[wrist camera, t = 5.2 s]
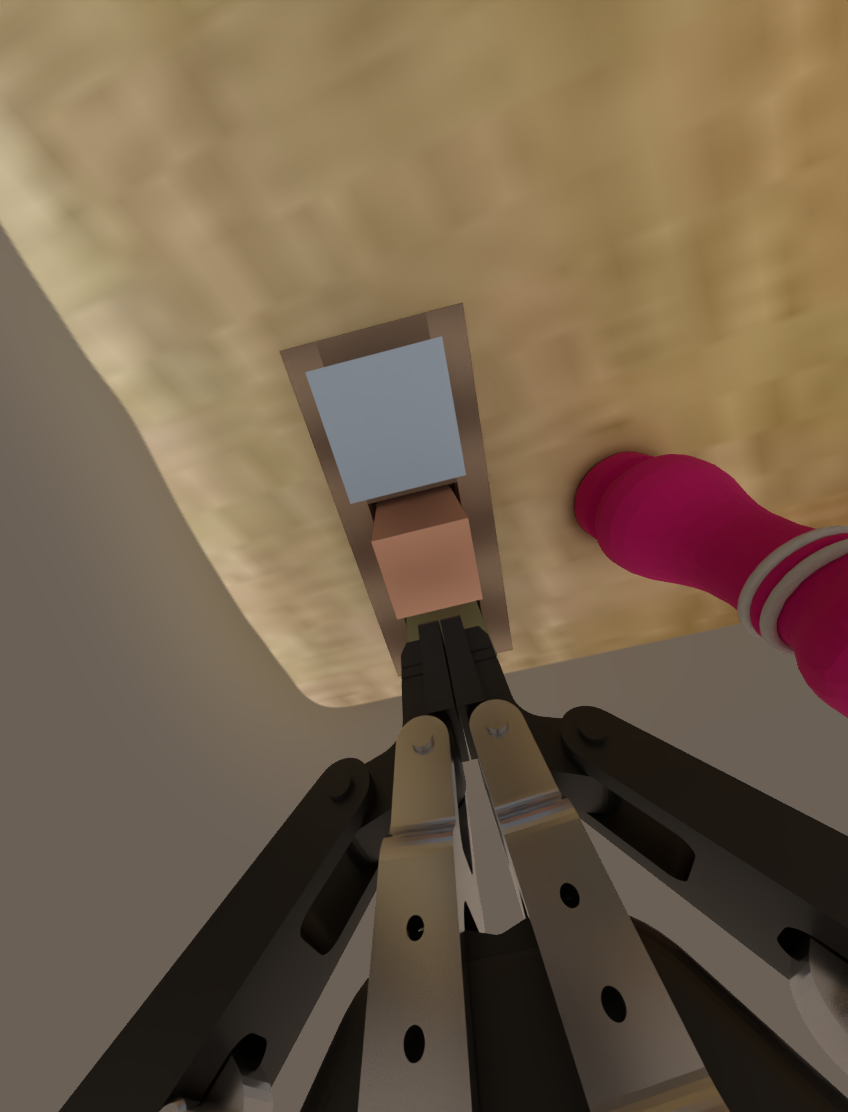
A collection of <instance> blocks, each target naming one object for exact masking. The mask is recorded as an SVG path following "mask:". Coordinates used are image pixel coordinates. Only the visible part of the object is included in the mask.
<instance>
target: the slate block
mask: <svg viewBox="0 0 848 1112" xmlns="http://www.w3.org/2000/svg"><path fill="white" fill-rule="evenodd" d="M305 373H306V376H307V379H308V382H309V385H310V388H311V391H312V394H313V397H314V400H315V402H316V405H317V408H318V411H319V414H320V417H321V420H322V423H323V426H324V429H325V432H326V434H327V437H328V440H329V443H330V446H331V449H332V452H333V455H334V458H335V461H336V464H337V466H338V469H339V472H340V475H341V478H342V481H343V484H344V487H345V490H346V493H347V495H348V498H349V501H350V504H352V503H356V502H360V501H364V500H368V499H372V498H376V497H380V496H384V495H388V494H392V493H396V492H400V491H404V490H408V489H412V488H416V487H420V486H424V485H428V484H432V483H436V482H440V481H444V480H448V479H452V478H456V477H460V476H464V475H466V471H465V466H464V460H463V454H462V448H461V443H460V437H459V431H458V425H457V420H456V414H455V408H454V402H453V397H452V391H451V385H450V379H449V373H448V368H447V362H446V356H445V350H444V345H443V339H442V336H441V337H437V338H434V339H430V340H426V341H422V342H418V343H415V344H411V345H407V346H403V347H399V348H396V349H392V350H388V351H384V352H380V353H377V354H373V355H369V356H365V357H361V358H358V359H354V360H350V361H346V362H342V363H339V364H335V365H331V366H327V367H323V368H320V369H316V370H312V371H308V372H305Z"/></svg>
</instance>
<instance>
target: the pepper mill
mask: <svg viewBox="0 0 848 1112" xmlns="http://www.w3.org/2000/svg"><path fill="white" fill-rule="evenodd" d="M574 510H575V516H576V518H577V521H578V523H579V524H580V526H581V527H582V529H583V530H585V531H586V532H587V533H588V534H590V535H591V536H592V537H594V538H595V539H597V540H598V543H599V545H600V547H601V549H602V551H603V552H604V554H605V555H606V556H607V557H608V558H609V559H610V560H612V561H613V562H614V563H616V564H617V565H619V566H621V567H622V568H624V569H626V570H628V571H629V572H631V573H634V574H637V575H640V576H643V577H646V578H649V579H653V580H658V581H664V582H670V583H676V584H681V585H685V586H690V587H694V588H697V589H700V590H703V591H706V592H708V593H710V594H712V595H714V596H716V597H717V598H719V599H721V600H723V601H725V602H727V603H729V604H730V605H731V606H733V607H734V608H735V609H736V610H737V612H738V617H739V620H740V622H741V624H742V625H743V627H744V628H745V629H746V630H747V631H748V632H750V633H751V634H753V635H755V636H757V637H761V638H763V639H764V640H765V641H766V642H767V644H768V645H769V646H771V647H772V648H773V649H775V650H777V651H780V652H782V653H786V654H791V655H795V657H796V661H797V665H798V669H799V670H800V672H801V674H802V676H803V678H804V679H805V681H806V683H807V684H808V686H809V687H810V688H811V689H812V690H813V691H814V692H815V694H816V695H817V696H818V697H819V698H821V699H822V700H823V701H824V702H825V703H827V704H828V705H829V706H831V707H832V708H834V709H835V710H837V711H838V712H840V713H841V714H843V715H844V716H846V717H847V718H848V526H840V525H839V526H829V527H823V528H818V529H814V528H811V527H807V526H803V525H799V524H797V523H795V522H792V521H790V520H787V519H785V518H783V517H780V516H778V515H775V514H773V513H771V512H769V511H768V510H766V509H765V508H763V507H762V506H760V505H758V504H757V503H756V502H755V501H754V500H753V499H752V498H751V497H750V496H749V495H748V494H747V493H746V492H745V491H744V490H743V489H742V487H741V486H740V485H739V484H738V483H737V482H736V481H735V479H734V478H732V477H731V476H730V475H729V474H727V473H726V472H724V471H723V470H721V469H720V468H719V467H717V466H716V465H714V464H711V463H709V462H707V461H704V460H701V459H698V458H695V457H692V456H687V455H679V454H668V455H661V456H657V457H653V456H649V455H645V454H641V453H637V452H623V453H619V454H615V455H613V456H610V457H608V458H606V459H605V460H603V461H601V462H600V463H598V464H597V465H596V466H595V467H593V468H592V469H591V470H590V471H589V472H588V473H587V475H586V476H585V478H584V479H583V481H582V482H581V484H580V486H579V488H578V490H577V493H576V497H575V505H574Z"/></svg>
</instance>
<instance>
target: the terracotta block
mask: <svg viewBox="0 0 848 1112" xmlns="http://www.w3.org/2000/svg"><path fill="white" fill-rule="evenodd" d="M371 543H372V546H373V549H374V552H375V555H376V558H377V561H378V564H379V567H380V570H381V573H382V576H383V579H384V582H385V585H386V588H387V591H388V594H389V597H390V600H391V603H392V606H393V609H394V612H395V615H396V618H397V619H401V618H406V617H410V616H414V615H418V614H422V613H427V612H431V611H435V610H439V609H443V608H448V607H452V606H456V605H460V604H464V603H469V602H473V601H477V600H481V599H483V597H482V592H481V586H480V581H479V575H478V570H477V564H476V559H475V553H474V548H473V542H472V537H471V531H470V526H469V520H468V517H467V515H466V513H465V512H464V510H463V508H462V507H461V505H460V503H459V501H458V500H457V498H456V496H455V495H454V493H453V491H452V489H451V488H450V486H449V484H447V485H443V486H439V487H435V488H431V489H427V490H423V491H419V492H415V493H411V494H407V495H403V496H399V497H395V498H391V499H387V500H383V501H379V502H377V507H376V513H375V520H374V527H373V533H372V540H371Z"/></svg>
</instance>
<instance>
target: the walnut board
mask: <svg viewBox="0 0 848 1112" xmlns="http://www.w3.org/2000/svg"><path fill="white" fill-rule="evenodd" d="M441 336H442V339H443V345H444V350H445V356H446V362H447V368H448V373H449V379H450V385H451V391H452V397H453V402H454V408H455V414H456V420H457V425H458V431H459V437H460V443H461V448H462V454H463V460H464V466H465V471H466V475H464V476H460V477H456V478H452V479H448V480H444V481H440V482H436V483H432V484H428V485H424V486H420V487H416V488H412V489H408V490H404V491H400V492H396V493H392V494H388V495H384V496H380V497H376V498H372V499H368V500H364V501H360V502H356V503H352V504H350V501H349V498H348V495H347V493H346V490H345V487H344V484H343V481H342V478H341V475H340V472H339V469H338V466H337V464H336V461H335V458H334V455H333V452H332V449H331V446H330V443H329V440H328V437H327V434H326V432H325V429H324V426H323V423H322V420H321V417H320V414H319V411H318V408H317V405H316V402H315V400H314V397H313V394H312V391H311V388H310V385H309V382H308V379H307V376H306V373H305V372H308V371H312V370H316V369H320V368H323V367H327V366H331V365H335V364H339V363H342V362H346V361H350V360H354V359H358V358H361V357H365V356H369V355H373V354H377V353H380V352H384V351H388V350H392V349H396V348H399V347H403V346H407V345H411V344H415V343H418V342H422V341H426V340H430V339H434V338H437V337H441ZM280 354H281V357H282V359H283V362H284V365H285V368H286V370H287V373H288V376H289V379H290V381H291V384H292V387H293V390H294V392H295V395H296V398H297V401H298V403H299V406H300V409H301V411H302V414H303V417H304V420H305V422H306V425H307V428H308V431H309V433H310V436H311V439H312V442H313V444H314V447H315V450H316V453H317V455H318V458H319V461H320V463H321V466H322V469H323V472H324V474H325V477H326V480H327V483H328V485H329V488H330V491H331V494H332V496H333V499H334V502H335V505H336V507H337V510H338V513H339V515H340V518H341V521H342V524H343V526H344V529H345V532H346V535H347V537H348V540H349V543H350V546H351V548H352V551H353V554H354V557H355V559H356V562H357V565H358V567H359V570H360V573H361V576H362V578H363V581H364V584H365V587H366V589H367V592H368V595H369V598H370V600H371V603H372V606H373V609H374V611H375V614H376V617H377V620H378V622H379V625H380V628H381V630H382V633H383V636H384V639H385V641H386V644H387V647H388V650H389V652H390V655H391V658H392V661H393V663H394V666H395V669H396V672H397V674H398V676H401V670H402V669H401V654H402V651H403V649H404V647H405V645H406V643H407V642H408V638H407V620H406V618H401V619H397V618H396V615H395V612H394V609H393V606H392V603H391V600H390V597H389V594H388V591H387V588H386V585H385V582H384V579H383V576H382V573H381V570H380V567H379V564H378V561H377V558H376V555H375V552H374V549H373V546H372V543H371V540H372V533H373V527H374V520H375V513H376V506H375V503H374V502H379V501H383V500H387V499H391V498H395V497H399V496H403V495H407V494H411V493H415V492H419V491H423V490H427V489H431V488H435V487H439V486H443V485H447V484H451V483H452V485H453V491H454V495H455V496H456V498H457V500H458V501H459V503H460V505H461V507H462V508H463V510H464V512H465V513H466V515H467V517H468V520H469V526H470V531H471V537H472V542H473V548H474V553H475V559H476V564H477V570H478V575H479V581H480V586H481V592H482V597H483V599H481V600H477V601H476V602H477V604H478V607H479V609H480V612H481V615H482V617H483V620H484V622H485V625H486V627H487V630H488V632H489V635H490V638H491V640H492V643H493V645H494V648H495V650H496V653H501V652H505V651H509V650H513V647H512V640H511V634H510V627H509V620H508V613H507V606H506V599H505V592H504V585H503V578H502V571H501V564H500V557H499V551H498V544H497V537H496V530H495V523H494V516H493V509H492V502H491V495H490V488H489V481H488V474H487V468H486V461H485V454H484V447H483V440H482V433H481V426H480V419H479V412H478V405H477V398H476V391H475V385H474V378H473V371H472V364H471V357H470V350H469V343H468V336H467V329H466V322H465V315H464V309H463V303H459V304H455V305H451V306H448V307H444V308H440V309H436V310H433V311H429V312H425V313H421V314H418V315H414V316H410V317H406V318H403V319H399V320H395V321H391V322H387V323H384V324H380V325H376V326H372V327H369V328H365V329H361V330H357V331H354V332H350V333H346V334H342V335H338V336H335V337H331V338H327V339H323V340H320V341H316V342H312V343H308V344H305V345H301V346H297V347H293V348H290V349H286V350H282V351H280Z"/></svg>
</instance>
